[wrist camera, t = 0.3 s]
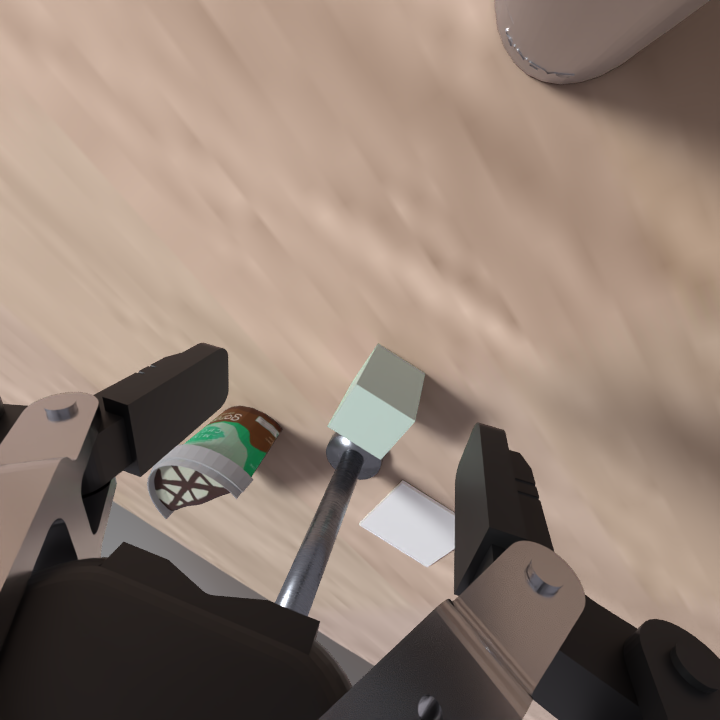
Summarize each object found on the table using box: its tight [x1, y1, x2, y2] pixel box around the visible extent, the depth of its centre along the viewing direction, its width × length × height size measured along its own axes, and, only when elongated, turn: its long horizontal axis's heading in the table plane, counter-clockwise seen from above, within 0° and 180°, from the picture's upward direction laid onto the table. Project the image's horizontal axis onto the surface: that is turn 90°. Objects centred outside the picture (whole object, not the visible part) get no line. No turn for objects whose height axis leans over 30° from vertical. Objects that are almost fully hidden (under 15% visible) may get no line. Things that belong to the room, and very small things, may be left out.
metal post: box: [275, 432, 383, 616], centre depth 28 cm, size 6×6×20 cm
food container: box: [147, 406, 282, 519], centre depth 35 cm, size 12×6×10 cm, turn 123°
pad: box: [359, 480, 455, 567], centre depth 39 cm, size 10×10×1 cm
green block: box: [327, 344, 425, 460], centre depth 29 cm, size 5×5×7 cm
